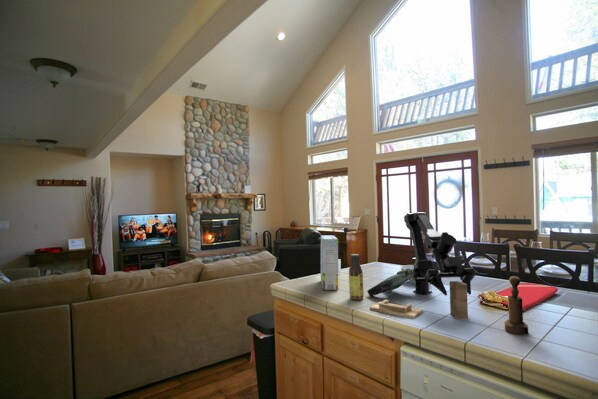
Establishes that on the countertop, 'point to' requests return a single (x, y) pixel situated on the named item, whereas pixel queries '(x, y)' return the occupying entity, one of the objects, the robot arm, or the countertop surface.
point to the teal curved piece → (391, 282)
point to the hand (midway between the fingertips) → (458, 294)
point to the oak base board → (397, 309)
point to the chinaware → (409, 268)
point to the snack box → (329, 262)
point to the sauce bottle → (355, 278)
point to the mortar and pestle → (515, 310)
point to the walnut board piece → (458, 299)
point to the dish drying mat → (529, 294)
